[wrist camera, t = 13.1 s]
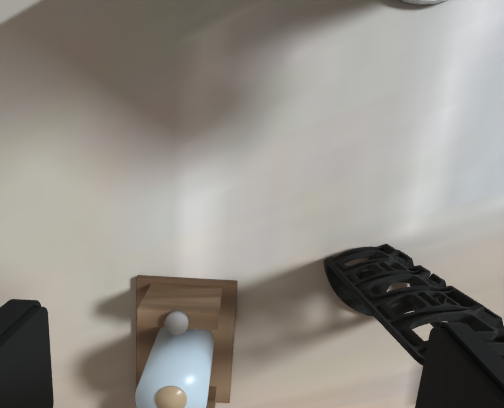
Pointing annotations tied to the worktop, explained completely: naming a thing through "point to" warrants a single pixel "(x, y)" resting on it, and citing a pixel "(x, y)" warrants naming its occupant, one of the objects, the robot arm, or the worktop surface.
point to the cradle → (188, 321)
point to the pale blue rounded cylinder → (177, 371)
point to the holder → (407, 298)
